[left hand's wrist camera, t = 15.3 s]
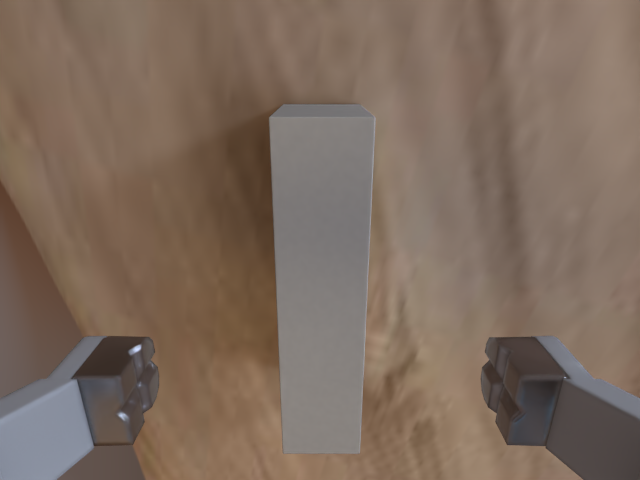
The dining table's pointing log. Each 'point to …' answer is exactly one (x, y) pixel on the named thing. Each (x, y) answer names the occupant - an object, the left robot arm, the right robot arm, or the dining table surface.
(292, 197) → the bar
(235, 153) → the dining table surface
